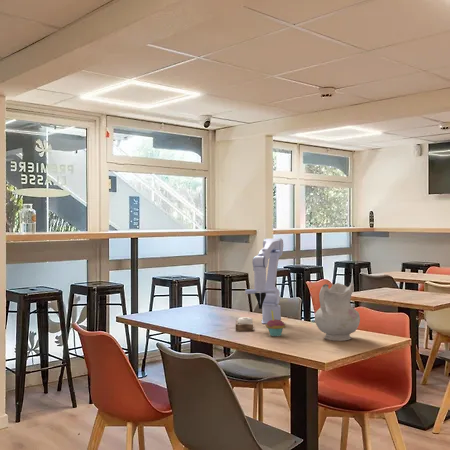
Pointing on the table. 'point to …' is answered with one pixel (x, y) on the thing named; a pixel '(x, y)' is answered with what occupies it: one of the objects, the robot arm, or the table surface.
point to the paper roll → (245, 320)
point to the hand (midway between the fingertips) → (260, 308)
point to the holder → (244, 327)
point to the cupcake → (275, 326)
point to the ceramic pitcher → (337, 312)
